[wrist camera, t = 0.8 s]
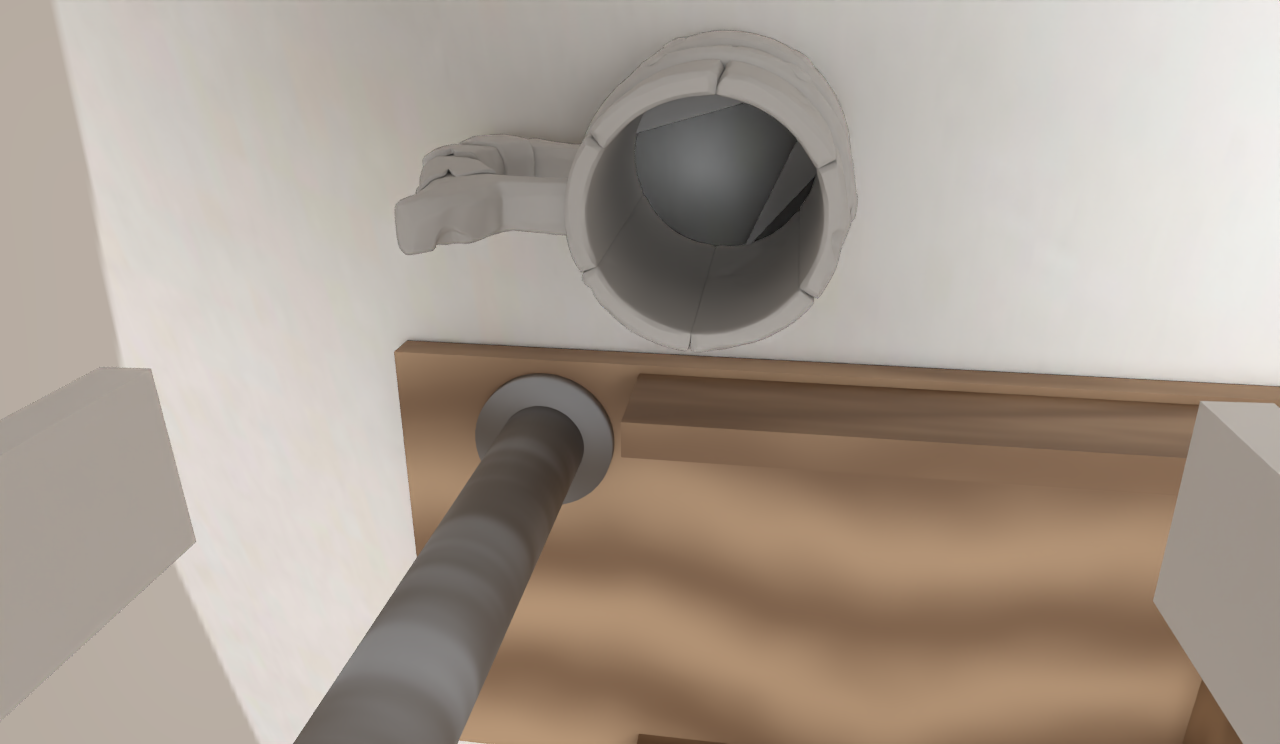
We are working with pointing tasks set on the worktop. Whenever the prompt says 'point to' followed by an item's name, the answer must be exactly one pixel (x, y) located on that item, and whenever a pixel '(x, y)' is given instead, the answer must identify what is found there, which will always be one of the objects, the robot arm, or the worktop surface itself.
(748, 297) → the mug
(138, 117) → the worktop surface
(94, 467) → the robot arm
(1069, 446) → the wooden tray with post
